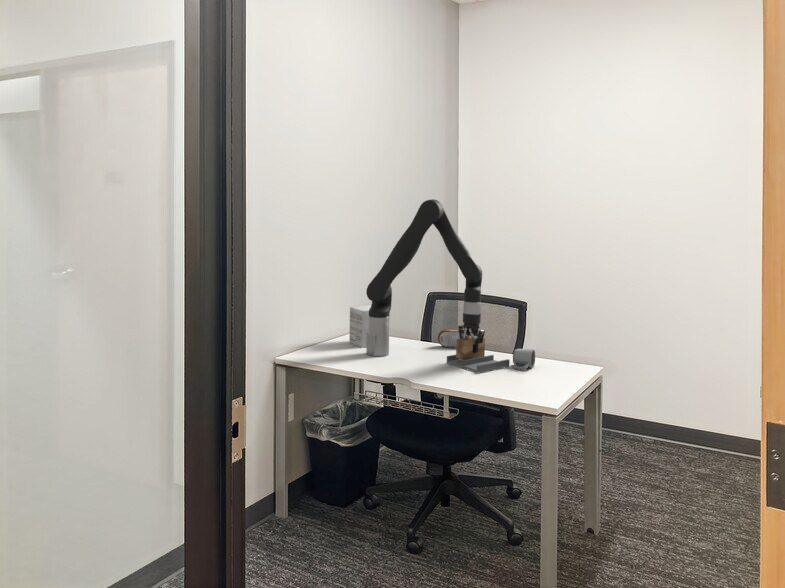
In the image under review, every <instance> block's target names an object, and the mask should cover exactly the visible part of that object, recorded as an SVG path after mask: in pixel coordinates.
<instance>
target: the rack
mask: <svg viewBox="0 0 785 588" xmlns="http://www.w3.org/2000/svg"><path fill="white" fill-rule="evenodd" d="M494 356H495V355H493V354H490V355H484V356H483V357H478V358H472V359H467V360H462V359H459V358H456V354H451V355H447V356H446V364H449V365H451V366H454V365H455V367H458V368H461V369H465V370H467V369H468V370H467V371H470V370H471V371H470V372H473V371H474V373H476V374H481V373H486V372H490V371H496V370H500V368H501V369H505V368H509V367H510V359H508V358H507V359H502V360H496V359H494V358H495V357H494ZM504 367H505V368H504ZM495 369H496V370H495Z"/></svg>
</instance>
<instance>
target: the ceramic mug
mask: <svg viewBox="0 0 785 588" xmlns="http://www.w3.org/2000/svg"><path fill="white" fill-rule="evenodd" d="M512 363H513V367H514V368H515V370H520V371H523V370H526V369H527V368H530V369H533V368H534V366H535V363H536V351H535V349H534V348H533V349H532V348H516V349H514V350H513V353H512Z"/></svg>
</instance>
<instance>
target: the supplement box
mask: <svg viewBox="0 0 785 588" xmlns="http://www.w3.org/2000/svg"><path fill="white" fill-rule="evenodd" d="M371 305H372V304H370V305H369V304H368V305H360V306H359V305H358V306H349V337H348V338H349V343H351V344H352V343H353V344H352V345H355V346H357V345H358V346H357V347H359V348H360V347H361V348H362V347H364V348H366V339H367V333H368V329H369V309H370V307H371Z"/></svg>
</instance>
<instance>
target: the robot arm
mask: <svg viewBox="0 0 785 588" xmlns="http://www.w3.org/2000/svg"><path fill="white" fill-rule="evenodd" d="M417 209H418V210H417V212H416V213H415V215H414V217H413V219H412V221H411V223H410V225H409V226H408V227H407V229H406V230H405V231H404V233H403V234H402V235H401V237H400V238H399V240H398V241H397V243H396V244H395V245H394V246H393V248H392V250H391V252H390V254H389V255H388V256H387V258H386V260H385V262H384V263H383V265H382V266H381V269H380V270H379V271H378V273H377V274H376V275H375V277H373V278H372V280H371V281H370V282H369V283H368V285H367V288H366V293H365V294H366V296H367V299H368V300H369V301H371V304H370V305H371V307H370V309H369V329H368V333H367V339H366V347H365V348H366V350H365V353H366V355H368V356H372V357H386V356H389V354H390V312H391V309H392V300H393V299H392V297H393V290H392V286H391V285H392V283H393V282H394V280H395V279H396V278H397V277H398V276H399V275H400V274H401V273H402V272H403V271H404V270H405V269H406V268H407V266H408V265H409V264H411V262H412V260H413V258H414V257H415V255H416V254H417V253H418V251H419V249H420V245H421V244H422V241H423V238H424V237H425V235H426V233H427V232H428V231H429V229H430V227H431V226H434V227H435V228H436V229H437V231H438V232H439V235H440V236H441V238H442V241H443V243H444V246H445V247H446V249H447V251H448V253H449V254H450V255H451V257H452V258H453V260H454V261H455V263H456V264H457V266H458V268H459V270H460V272H461V274H462V276H463V277H464V279H465V289H464V291H463V292H464V293H463V304H462V323H463V324H461V325H458V326H457V327H458V328H457V330H459V337H460V339H461V338H467V337H468V338H469V337H471V339H472V340H473V353H477V352H478V344H480V343H482V342H483V338H485V332H486V330H484V329H481V328H480V324H481V320H482V316H481V315H482V303H481V301H482V291H481V290H482V289H481V288H482V282H483V281H482V280H483V269H482V268H481V266H480V265H478V264H477V263H476V262H475V261H474V260H473V258H472V255H471V253H470V251H469V249H468V248H467V246H466V245H465V243H464V242H463V240H462V239H461V238H460V236H459V234H458V233H457V231H456V230H455V229H454V227H453V225H452V223H451V221H450V219H449V217H448V214H447V213H446V211H445V207H444V206H443V204H442V202H440V201H439V200H438V199H427V200H425V201H423V202H421V204H420V206H419V207H418V208H417ZM462 334H463V336H462ZM474 336H476V337H474ZM475 339H476V340H475Z"/></svg>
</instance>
